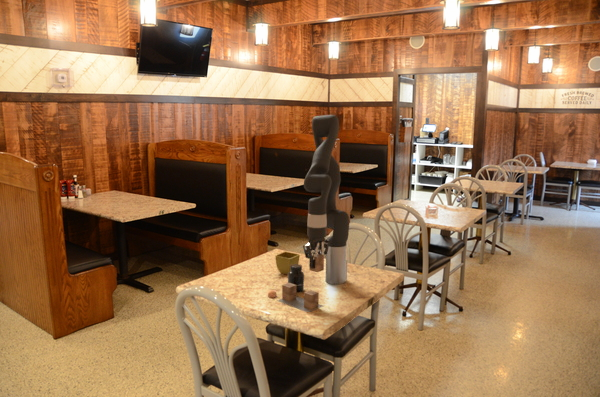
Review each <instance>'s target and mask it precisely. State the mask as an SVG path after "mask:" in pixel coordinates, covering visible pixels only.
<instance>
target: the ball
mask: <svg viewBox="0 0 600 397" xmlns="http://www.w3.org/2000/svg"><path fill="white" fill-rule="evenodd" d="M276 297H277V292H276V290H274V289H273V290H269V291H268V293H267V298H272V299H274V298H276Z"/></svg>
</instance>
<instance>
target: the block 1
mask: <svg viewBox="0 0 600 397" xmlns="http://www.w3.org/2000/svg"><path fill="white" fill-rule="evenodd" d="M281 287H282V290H281V292H282V295H281V296H282V298H281V299H283V300H286V301H288V302H290V301H293V300H295V299H296V296H297V293H296V285H295V284H292V283H288V282H287V283H285V284H282V285H281Z"/></svg>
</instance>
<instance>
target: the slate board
mask: <svg viewBox="0 0 600 397" xmlns="http://www.w3.org/2000/svg"><path fill="white" fill-rule="evenodd" d="M277 302H279V303H282V304H285V305H287V306H290V307H292V308H295V309H298V310H301V311H303V312H306V313H310V312H313V311H315V310H317V309H320V308H322V307H324V305H323V304H320V303H319V306H318V308H316V309H313V310H310V309H307V308H304V297H301V296H298V295H296V299H295V300H293V301H290V302H288V301H286V300H283V299H282V298H281V299H278V300H277Z"/></svg>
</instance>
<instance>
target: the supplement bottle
mask: <svg viewBox="0 0 600 397" xmlns="http://www.w3.org/2000/svg"><path fill="white" fill-rule="evenodd" d="M302 268H303V265H301V264H299V263H298V264H293V265H291V268H290V270H291V271H290V272H289V273H288V275H287V283H292V284H295V285H296V294H298V293H300V294H301V293H302V292H303V293H304V292H305V291H304V290H305V289H304V288H305V287H304V286H305V273H304V272H303V269H302Z"/></svg>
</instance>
